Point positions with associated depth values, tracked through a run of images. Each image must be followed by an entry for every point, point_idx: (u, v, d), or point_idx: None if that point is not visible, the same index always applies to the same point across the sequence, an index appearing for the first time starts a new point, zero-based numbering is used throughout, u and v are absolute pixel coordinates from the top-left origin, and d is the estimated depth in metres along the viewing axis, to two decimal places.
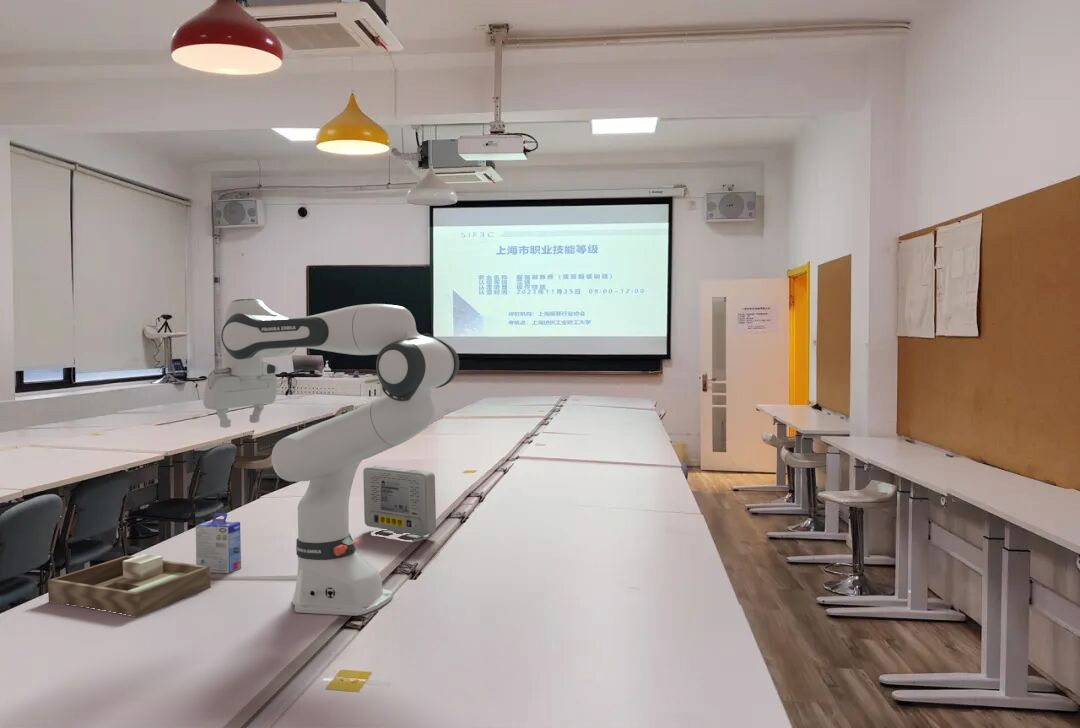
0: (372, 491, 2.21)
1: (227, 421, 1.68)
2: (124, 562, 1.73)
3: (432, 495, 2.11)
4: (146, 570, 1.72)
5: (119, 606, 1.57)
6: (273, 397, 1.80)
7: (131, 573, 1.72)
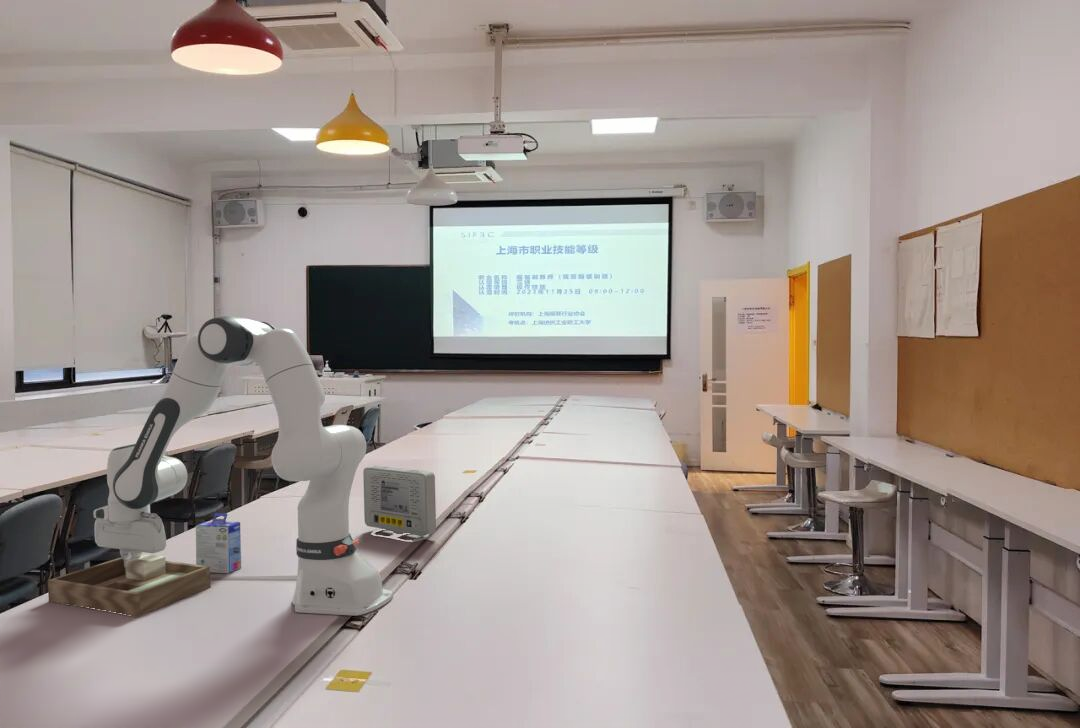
0: (372, 491, 2.21)
1: None
2: (127, 562, 1.72)
3: (432, 495, 2.11)
4: (148, 570, 1.72)
5: (119, 606, 1.57)
6: None
7: (134, 574, 1.72)
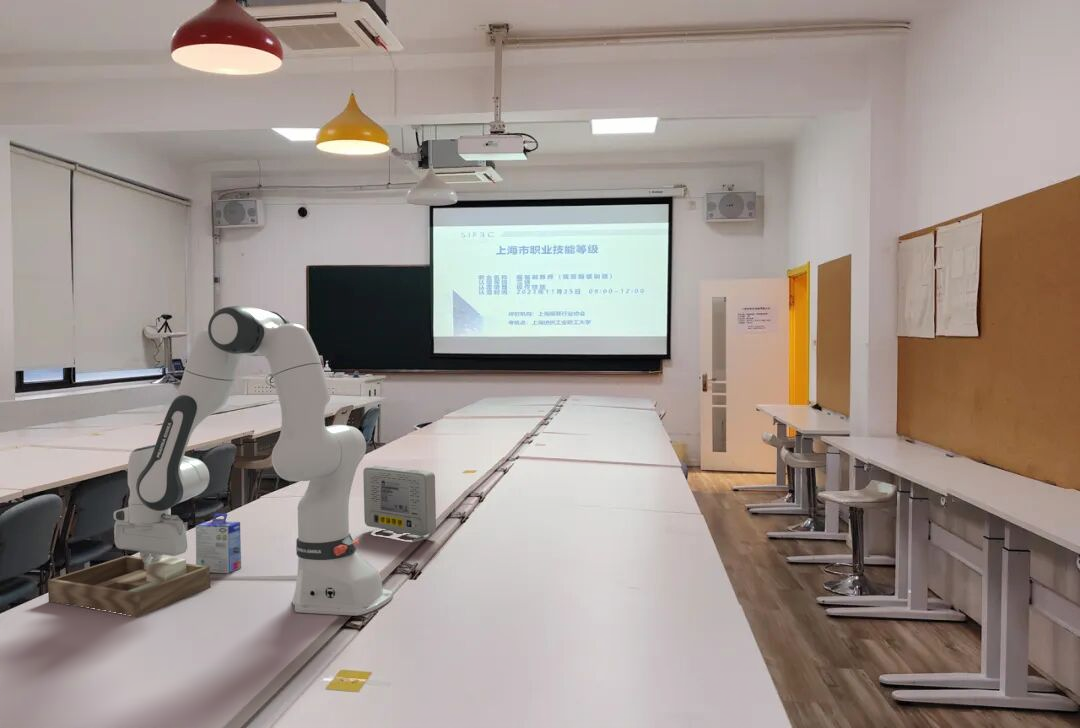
0: (372, 491, 2.21)
1: None
2: (147, 565, 1.70)
3: (432, 495, 2.11)
4: (169, 573, 1.69)
5: (119, 606, 1.57)
6: None
7: (154, 577, 1.69)
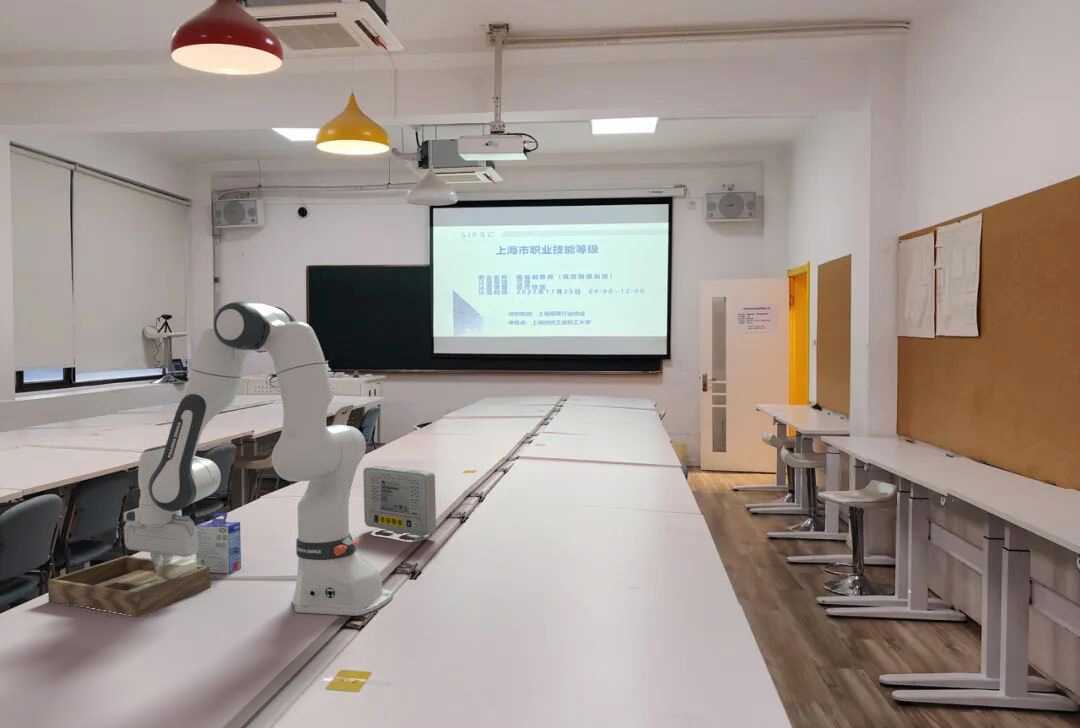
0: (372, 491, 2.21)
1: None
2: (158, 567, 1.69)
3: (432, 495, 2.11)
4: (180, 575, 1.68)
5: (119, 606, 1.57)
6: None
7: (165, 578, 1.68)
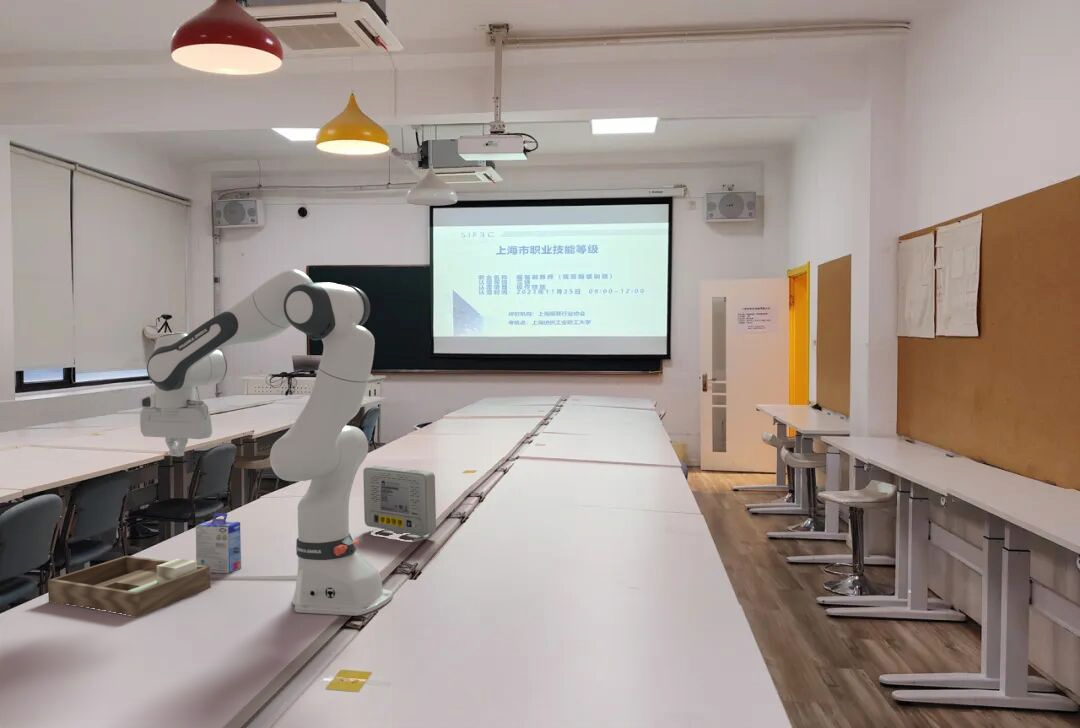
0: (372, 491, 2.21)
1: None
2: (158, 567, 1.69)
3: (432, 495, 2.11)
4: (180, 575, 1.68)
5: (119, 606, 1.57)
6: None
7: (165, 578, 1.68)
